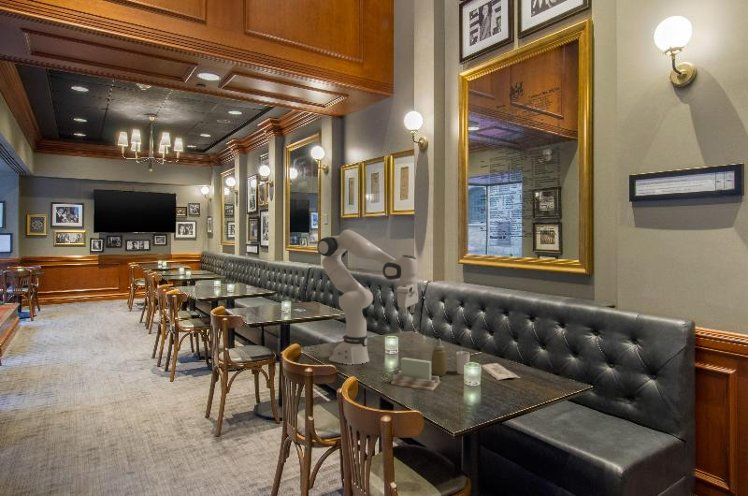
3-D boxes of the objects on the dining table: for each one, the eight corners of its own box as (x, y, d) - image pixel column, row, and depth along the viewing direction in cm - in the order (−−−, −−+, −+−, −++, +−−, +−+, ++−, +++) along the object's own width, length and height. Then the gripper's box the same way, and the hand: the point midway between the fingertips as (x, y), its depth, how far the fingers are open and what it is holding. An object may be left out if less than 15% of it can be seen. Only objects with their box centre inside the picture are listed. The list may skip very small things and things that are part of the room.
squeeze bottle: (449, 373, 221) (449, 338, 221) (443, 378, 214) (443, 341, 214) (434, 371, 225) (434, 336, 225) (428, 375, 218) (428, 339, 218)
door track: (391, 384, 206) (391, 376, 206) (400, 376, 217) (400, 369, 217) (432, 390, 197) (432, 383, 197) (440, 382, 208) (440, 375, 208)
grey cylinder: (463, 375, 218) (463, 355, 218) (453, 372, 224) (453, 352, 223) (472, 373, 222) (472, 353, 222) (462, 369, 227) (462, 350, 227)
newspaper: (522, 380, 213) (521, 375, 213) (498, 384, 211) (497, 379, 211) (501, 366, 236) (501, 361, 235) (479, 369, 234) (479, 364, 234)
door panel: (400, 380, 209) (401, 359, 208) (403, 378, 211) (403, 357, 211) (429, 384, 203) (429, 362, 202) (431, 382, 205) (431, 361, 205)
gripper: (410, 284, 235) (410, 310, 235) (395, 289, 216) (395, 317, 217) (421, 285, 232) (421, 311, 233) (407, 289, 214) (407, 318, 214)
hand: (408, 314), depth 225 cm, fingers open, 8 cm apart
